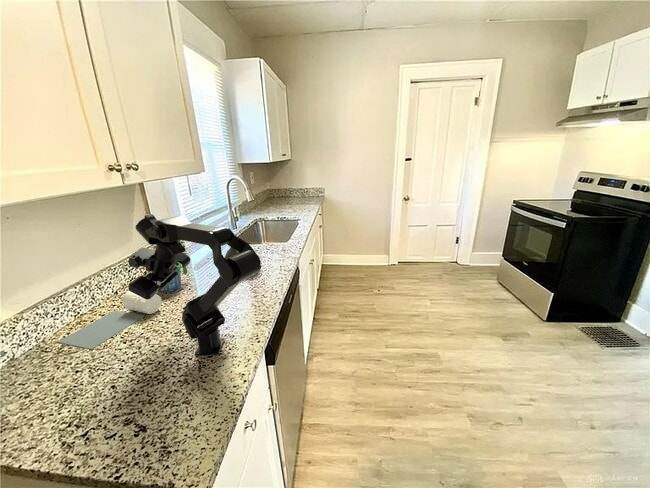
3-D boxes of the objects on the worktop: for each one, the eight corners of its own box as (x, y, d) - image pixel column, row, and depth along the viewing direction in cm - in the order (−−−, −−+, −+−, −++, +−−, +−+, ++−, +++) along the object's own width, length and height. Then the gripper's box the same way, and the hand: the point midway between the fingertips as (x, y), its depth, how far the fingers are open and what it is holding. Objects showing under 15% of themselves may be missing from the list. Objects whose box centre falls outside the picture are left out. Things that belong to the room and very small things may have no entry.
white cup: (139, 316, 93) (119, 309, 97) (160, 314, 101) (141, 308, 104) (145, 293, 94) (125, 287, 97) (165, 292, 101) (146, 287, 105)
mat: (145, 317, 97) (145, 315, 97) (92, 351, 80) (91, 349, 80) (115, 312, 101) (114, 310, 100) (58, 344, 84) (57, 341, 84)
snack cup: (157, 299, 108) (152, 275, 104) (145, 292, 113) (139, 269, 110) (195, 284, 120) (191, 262, 116) (182, 278, 125) (178, 257, 122)
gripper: (162, 226, 85) (155, 261, 93) (110, 258, 69) (107, 298, 77) (196, 243, 86) (186, 277, 94) (152, 280, 70) (144, 316, 78)
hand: (158, 290), depth 86 cm, fingers closed
